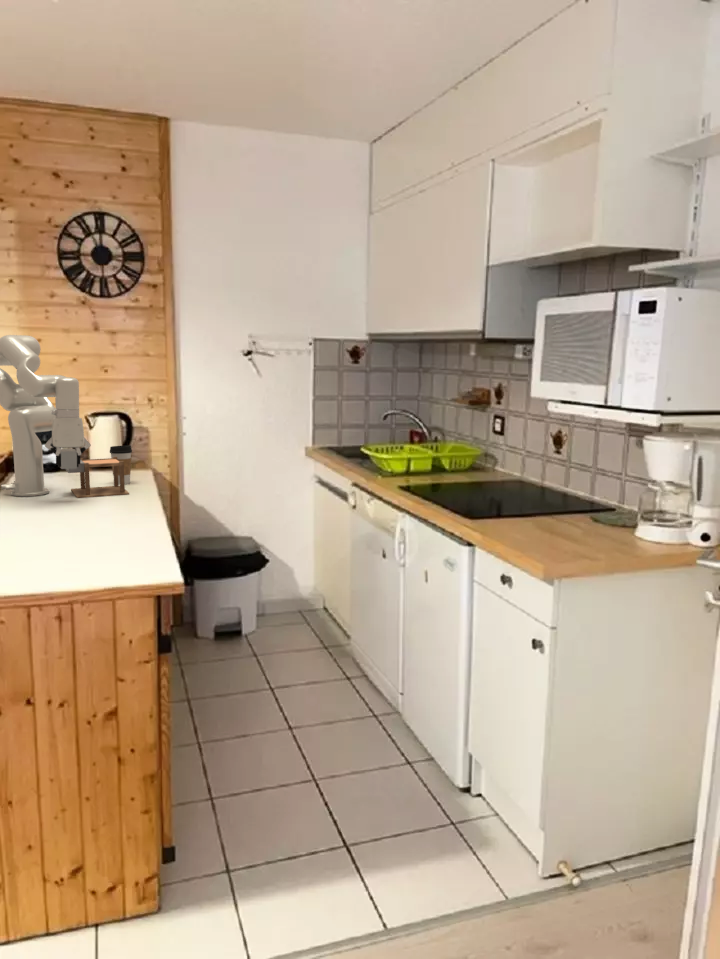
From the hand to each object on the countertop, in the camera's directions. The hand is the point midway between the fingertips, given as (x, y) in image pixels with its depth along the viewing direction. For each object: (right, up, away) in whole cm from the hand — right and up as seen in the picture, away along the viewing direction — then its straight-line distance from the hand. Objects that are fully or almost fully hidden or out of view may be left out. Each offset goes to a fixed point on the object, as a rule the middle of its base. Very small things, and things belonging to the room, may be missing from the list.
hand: (68, 465), depth 258 cm
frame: (+5, -9, +18) cm, 21 cm away
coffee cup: (+7, -6, +38) cm, 39 cm away
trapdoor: (+3, -1, +15) cm, 16 cm away
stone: (0, -1, 0) cm, 1 cm away
